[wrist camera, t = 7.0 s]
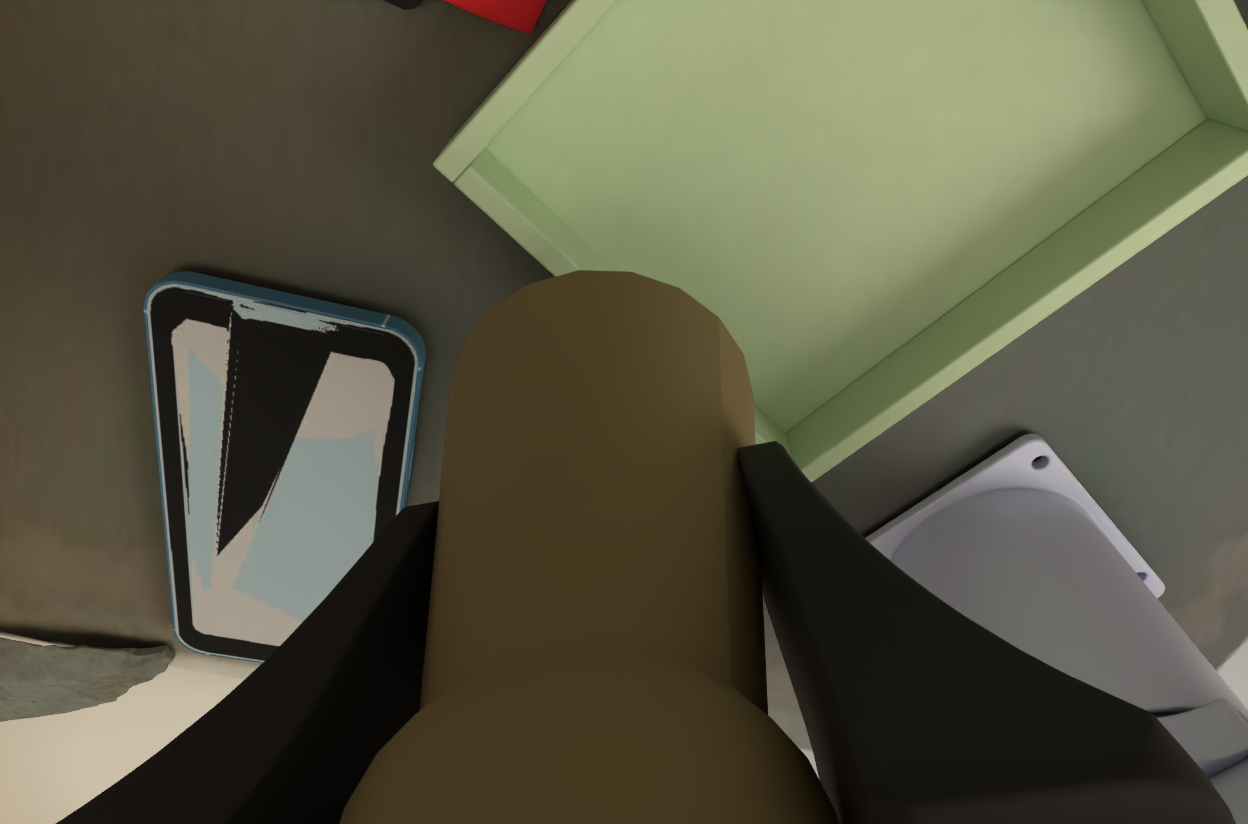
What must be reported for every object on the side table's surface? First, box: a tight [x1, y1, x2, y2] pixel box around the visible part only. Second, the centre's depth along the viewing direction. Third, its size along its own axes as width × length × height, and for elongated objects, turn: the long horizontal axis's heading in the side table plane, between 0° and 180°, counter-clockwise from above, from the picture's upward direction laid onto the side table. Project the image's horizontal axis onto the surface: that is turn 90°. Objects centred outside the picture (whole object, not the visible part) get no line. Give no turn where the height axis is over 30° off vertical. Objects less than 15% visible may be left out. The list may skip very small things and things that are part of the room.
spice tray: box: [433, 0, 1248, 482], centre depth 18 cm, size 13×14×2 cm
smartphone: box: [144, 271, 426, 663], centre depth 25 cm, size 7×1×15 cm
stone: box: [0, 638, 175, 722], centre depth 29 cm, size 11×2×5 cm
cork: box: [339, 270, 839, 824], centre depth 11 cm, size 6×6×11 cm
